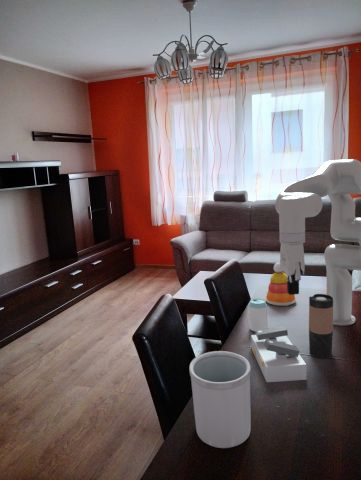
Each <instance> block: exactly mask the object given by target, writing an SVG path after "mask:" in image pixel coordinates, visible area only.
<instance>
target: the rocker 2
mask: <svg viewBox="0 0 361 480" xmlns="http://www.w3.org/2000/svg"><path fill="white" fill-rule="evenodd" d="M264 345H265V347H266V349H267V350H269V351H273V352H277V353H282V354H286V355H290V356H295V357H298V355H300V350H299V347H297V345H295V344H294V345H293V344H292V345H290V344H285V343H281V342H277V341H273V340H268V339H266V340H265V344H264Z"/></svg>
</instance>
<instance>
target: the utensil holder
mask: <svg viewBox="0 0 361 480" xmlns="http://www.w3.org/2000/svg"><path fill="white" fill-rule="evenodd" d="M251 369H252V368H251V364H250V362H249V360H248V359H247V358H246V357H244V356H243V355H240V354H239V353H235V352H232V351H224V350H218V351H217V350H214V351H208V352H205V353H202V354H200V355H198V356H196V357H194V358H193V359H192V360H191V362H190V364H189V376H190V381H191V390H192V392H191V393H192V399H193V401H192V402H193V403H192V404H193V413H194V422H195V430H196V434H197V436H198V437H199V439H200V440H201V441H202V442H203V443H205V444H207V445H209V446H210V447H214V448H218V449H219V448H220V449H229V448H233V447H237V446H239V445H241V444H243V443H244V442H245V441H246V440H247V439H248V438H249V437H250V434H251V431H252V430H251V427H252V426H251V425H252V424H251V423H252V421H251V418H252V417H251V416H252V414H251V413H252V412H251V410H252V409H251V408H252V407H251V380H250V377H251V372H252V371H251Z"/></svg>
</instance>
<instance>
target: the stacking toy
mask: <svg viewBox="0 0 361 480" xmlns="http://www.w3.org/2000/svg"><path fill="white" fill-rule="evenodd" d="M273 271H274V272H273V273H272V275H271V276H270V278H269V281H270V282H269V283H268V287H267V288H268V289H267V290H268V291H267V292H266V296H265V297H264V300H265V302H267V303H268V304H270V305H274V306H281V307H282V306H283V307H284V306H285V307H286V306H290V305H293V304H295V303H296V301H297V297H296V294H294V295H289V293H288V292H287V274H286V273H285V272H284V271H283V270H282V269H281V268H280V261H277V262H275V264H274V265H273Z"/></svg>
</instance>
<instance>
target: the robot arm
mask: <svg viewBox="0 0 361 480" xmlns="http://www.w3.org/2000/svg"><path fill="white" fill-rule="evenodd" d="M351 195H361V161H359V160H358V159H354V158H350V159H333V160H331V159H330V160H328V161H325V162H323V163H322V164H320V166H319V167H317V169H316V170H315V171H314V172H313V173H312V174H311V175H310V176H308V177H305V178H302V179H300V180H297V181H295V182H292V183H290V184H288V185H287V186H286V187H284V189H282V190H281V191H280V193H279V194H278V195H277V197H276V199H275V203H274V206H275V211H276V212H277V213H278V224H279V225H278V226H279V228H278V229H279V243H280V247H279V248H280V250H279V251H280V252H279V262H280V268H281V269H282V270H283V273H285V274H286V275H287V292H288V293H289V295H299V294H300V281H301V279H302V277H301V276H303V275H305V269H306V268H305V250H304V249H305V248H304V244H305V243H306V219H307V218H313V217H317V216H318V215H319V214H320V212H322V209H323V204H324V202H323V199H322V198H324V197H326V196H328V199H329V200H330V203H331V215H330V236H331V238H332V239H333V240H336V241H340V242H341V241H342V242H350V243H351V242H352V243H358V244H359V245H355V244H354V245H352V244H343V243H333V244H329V245H328V246H326V248H325V250H324V261H325V269H326V294H325V295H329V296H331V297H333V326H341V327H342V326H350V325H353V324H354V323H356V317H355V316H354V315H352V310H353V309H352V308H353V307H352V306H353V305H352V303H353V302H352V301H353V299H352V297H353V278H352V275H351V273H350V272H349V270H351V271H361V217H356V203H355V199H354V198H353V197H352V196H351Z"/></svg>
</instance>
